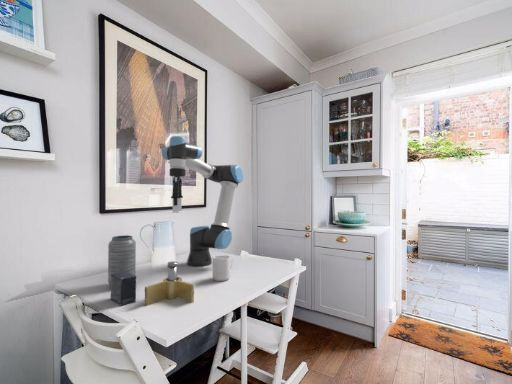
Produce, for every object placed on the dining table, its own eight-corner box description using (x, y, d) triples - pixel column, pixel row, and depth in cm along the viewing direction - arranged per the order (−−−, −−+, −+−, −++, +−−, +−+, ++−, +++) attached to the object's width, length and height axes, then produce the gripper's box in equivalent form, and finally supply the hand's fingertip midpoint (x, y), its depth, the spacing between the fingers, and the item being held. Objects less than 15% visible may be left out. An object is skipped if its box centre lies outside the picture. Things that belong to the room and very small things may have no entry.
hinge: (151, 293, 117) (151, 277, 117) (195, 291, 121) (195, 275, 121) (144, 305, 105) (144, 287, 105) (193, 302, 108) (193, 285, 108)
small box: (137, 301, 109) (137, 275, 109) (120, 306, 104) (120, 279, 104) (126, 294, 116) (126, 270, 116) (109, 299, 111) (110, 273, 111)
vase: (105, 284, 128) (105, 236, 128) (131, 279, 136) (131, 234, 136) (111, 291, 119) (111, 239, 120) (138, 285, 127) (139, 237, 127)
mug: (220, 283, 132) (220, 260, 132) (208, 279, 138) (209, 257, 138) (237, 277, 141) (237, 256, 141) (226, 273, 147) (226, 253, 147)
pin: (168, 294, 117) (168, 261, 117) (177, 293, 118) (177, 261, 118) (166, 297, 113) (166, 264, 113) (176, 296, 114) (176, 263, 114)
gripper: (172, 170, 144) (172, 210, 144) (165, 165, 119) (165, 213, 119) (187, 170, 145) (186, 209, 145) (183, 166, 121) (182, 213, 121)
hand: (177, 211), depth 132 cm, fingers open, 13 cm apart
